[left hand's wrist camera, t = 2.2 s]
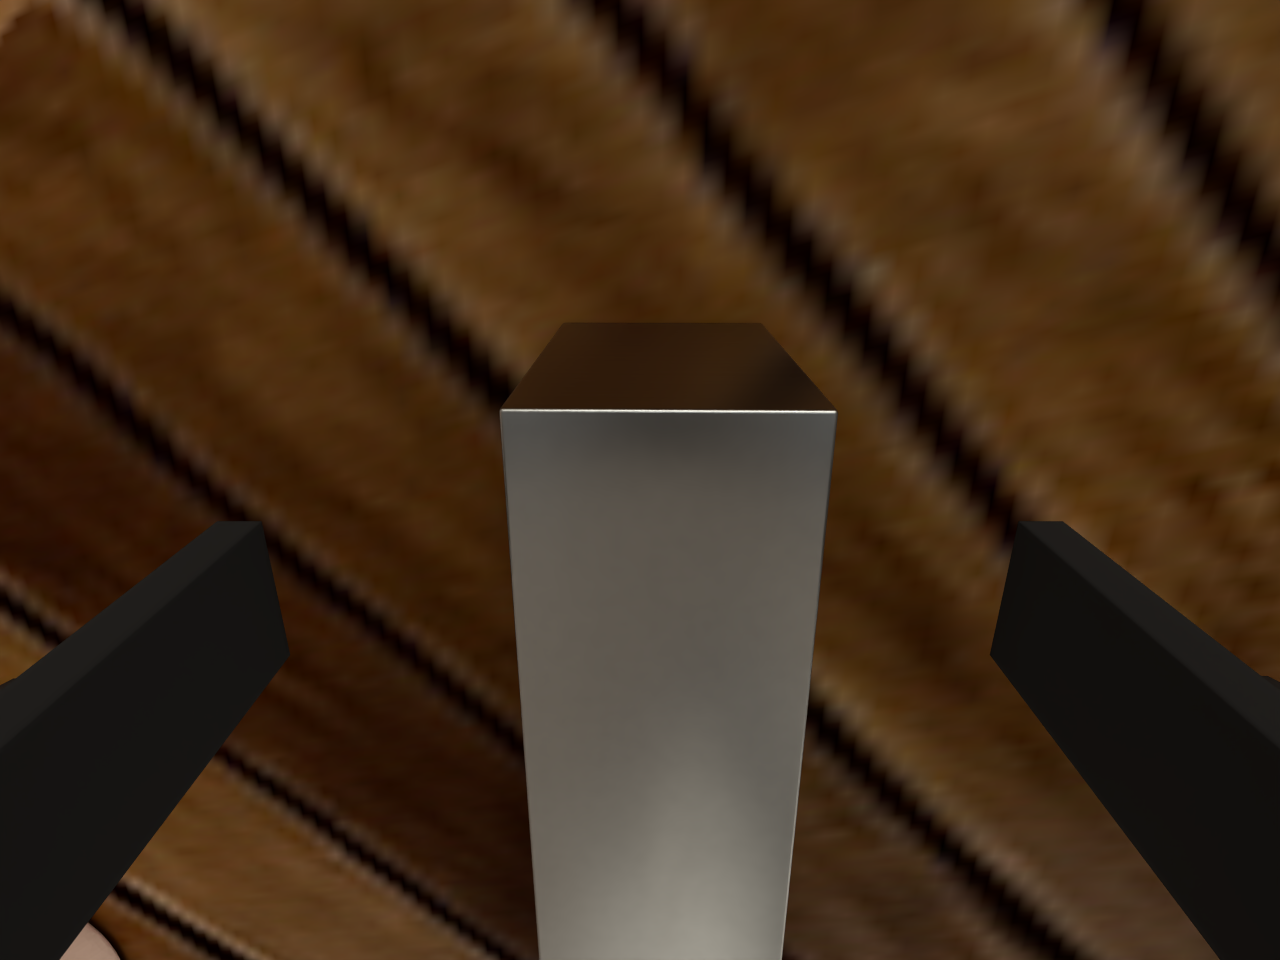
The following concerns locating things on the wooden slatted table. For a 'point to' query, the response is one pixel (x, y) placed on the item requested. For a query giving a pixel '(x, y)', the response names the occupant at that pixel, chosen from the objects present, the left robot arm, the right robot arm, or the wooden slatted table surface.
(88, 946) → the anatomical model
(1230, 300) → the wooden slatted table surface
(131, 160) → the wooden slatted table surface
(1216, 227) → the wooden slatted table surface
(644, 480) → the bar
